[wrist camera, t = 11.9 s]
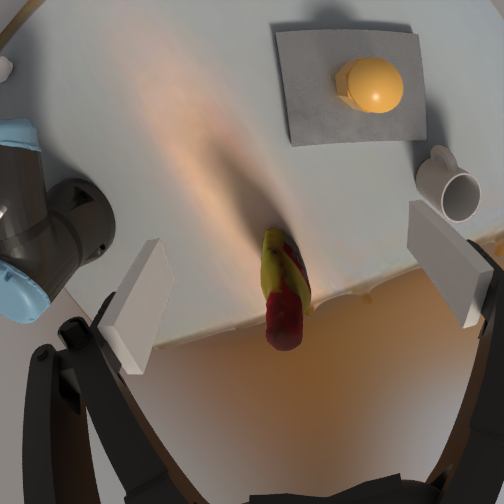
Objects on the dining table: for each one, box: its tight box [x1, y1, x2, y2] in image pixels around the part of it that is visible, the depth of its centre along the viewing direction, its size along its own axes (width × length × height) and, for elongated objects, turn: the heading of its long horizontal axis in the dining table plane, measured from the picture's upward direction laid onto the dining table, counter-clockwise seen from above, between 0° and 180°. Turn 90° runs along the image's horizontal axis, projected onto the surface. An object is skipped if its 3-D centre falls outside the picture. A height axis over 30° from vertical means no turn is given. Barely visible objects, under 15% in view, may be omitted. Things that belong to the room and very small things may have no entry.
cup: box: [416, 145, 481, 223], centre depth 37 cm, size 7×10×9 cm
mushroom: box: [0, 56, 13, 82], centre depth 31 cm, size 5×5×5 cm
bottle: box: [261, 228, 311, 351], centre depth 41 cm, size 12×6×20 cm, turn 18°
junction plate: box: [275, 29, 427, 147], centre depth 33 cm, size 20×16×6 cm
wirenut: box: [335, 57, 403, 113], centre depth 31 cm, size 7×7×7 cm
